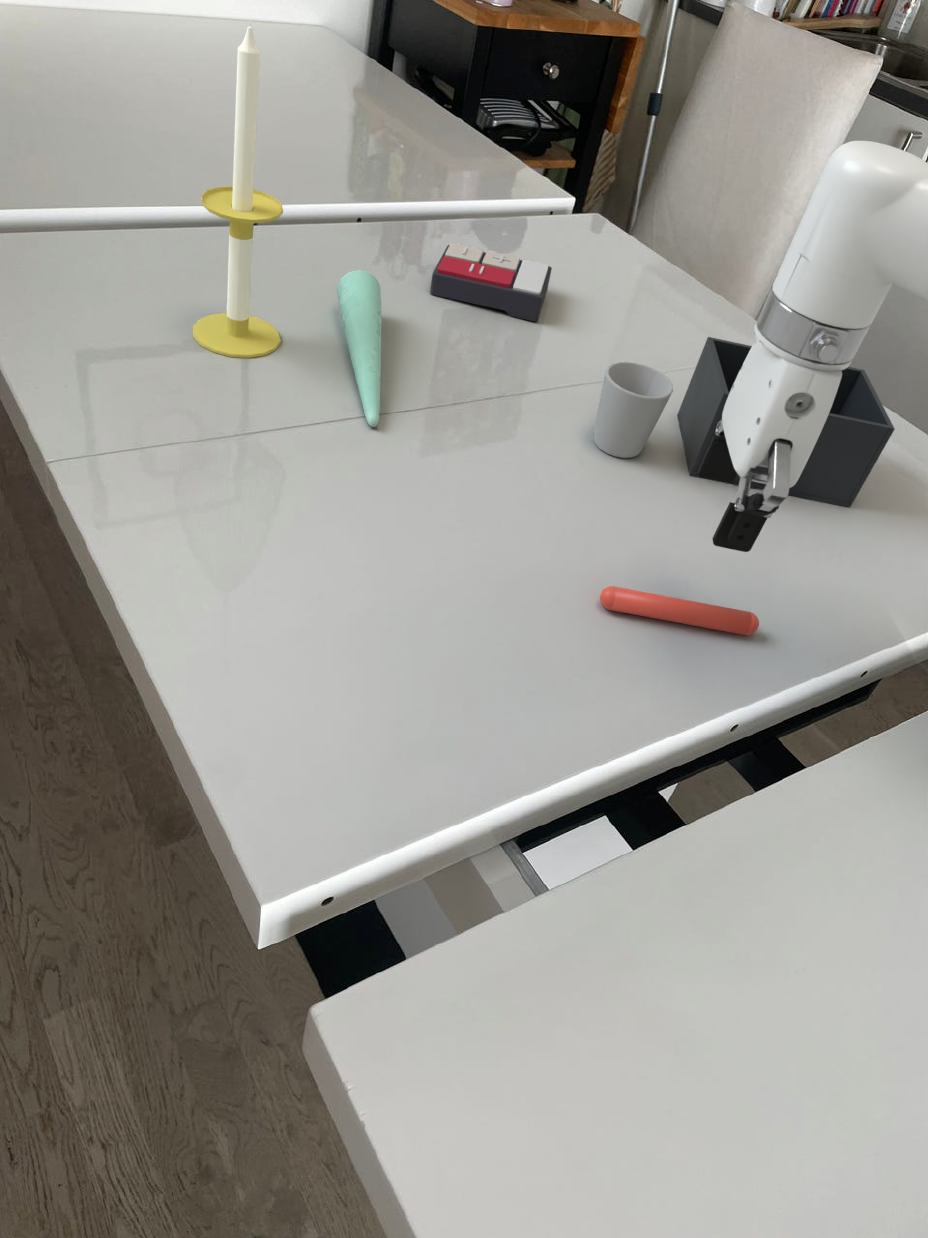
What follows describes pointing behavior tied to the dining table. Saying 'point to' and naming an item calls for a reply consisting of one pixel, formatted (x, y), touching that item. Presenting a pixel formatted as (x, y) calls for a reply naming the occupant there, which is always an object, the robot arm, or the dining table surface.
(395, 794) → the dining table surface
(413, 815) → the dining table surface
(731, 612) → the red rod
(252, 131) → the candle
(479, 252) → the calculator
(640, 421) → the cup
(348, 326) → the long green cone
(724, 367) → the bin
